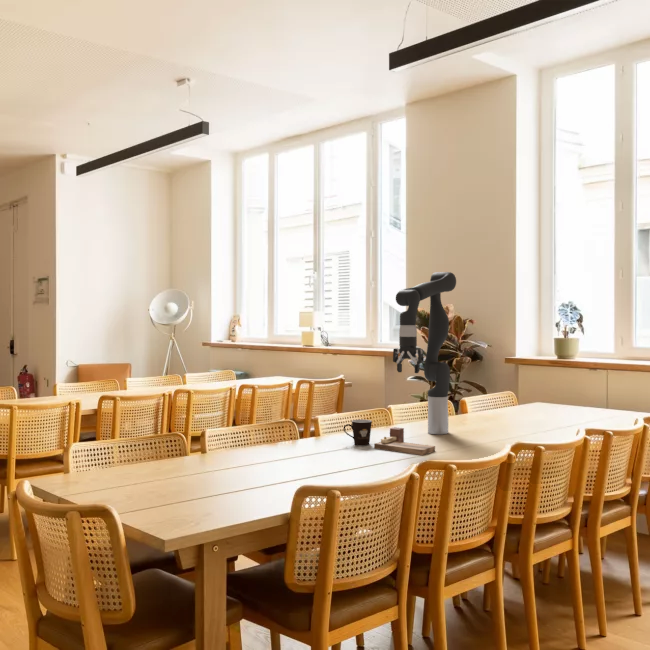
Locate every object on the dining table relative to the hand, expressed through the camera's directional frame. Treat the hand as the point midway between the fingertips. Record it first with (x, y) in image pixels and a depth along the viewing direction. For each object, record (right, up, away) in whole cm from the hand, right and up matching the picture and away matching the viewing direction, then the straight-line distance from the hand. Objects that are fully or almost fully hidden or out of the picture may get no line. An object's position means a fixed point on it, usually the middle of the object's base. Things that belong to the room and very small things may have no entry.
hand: (408, 372), depth 312 cm
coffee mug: (-22, -31, -5) cm, 38 cm away
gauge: (-8, -30, -10) cm, 33 cm away
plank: (-4, -31, -18) cm, 36 cm away
